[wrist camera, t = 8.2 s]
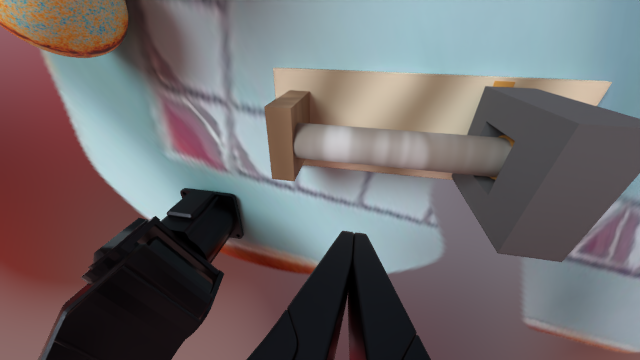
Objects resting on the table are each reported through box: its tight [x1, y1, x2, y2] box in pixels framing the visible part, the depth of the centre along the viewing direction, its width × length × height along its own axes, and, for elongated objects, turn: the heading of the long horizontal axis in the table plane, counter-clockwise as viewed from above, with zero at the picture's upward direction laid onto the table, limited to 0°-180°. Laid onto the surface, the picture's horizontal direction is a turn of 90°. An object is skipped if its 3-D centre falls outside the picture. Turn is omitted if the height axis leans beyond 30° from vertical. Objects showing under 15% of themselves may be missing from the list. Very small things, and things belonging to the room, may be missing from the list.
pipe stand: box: [265, 68, 612, 181], centre depth 16 cm, size 22×8×6 cm, turn 89°
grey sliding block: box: [451, 86, 640, 262], centre depth 13 cm, size 3×7×8 cm, turn 179°
